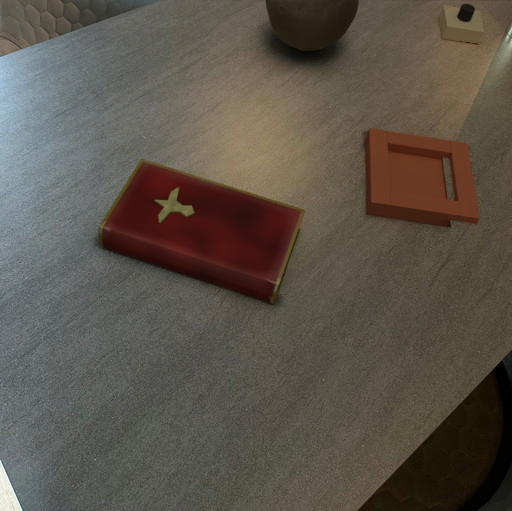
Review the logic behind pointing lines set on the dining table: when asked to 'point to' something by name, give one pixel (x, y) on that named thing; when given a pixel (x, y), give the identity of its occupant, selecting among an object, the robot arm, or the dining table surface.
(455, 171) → the base pad
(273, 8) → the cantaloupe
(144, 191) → the hardcover book
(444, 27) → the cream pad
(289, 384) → the dining table surface
